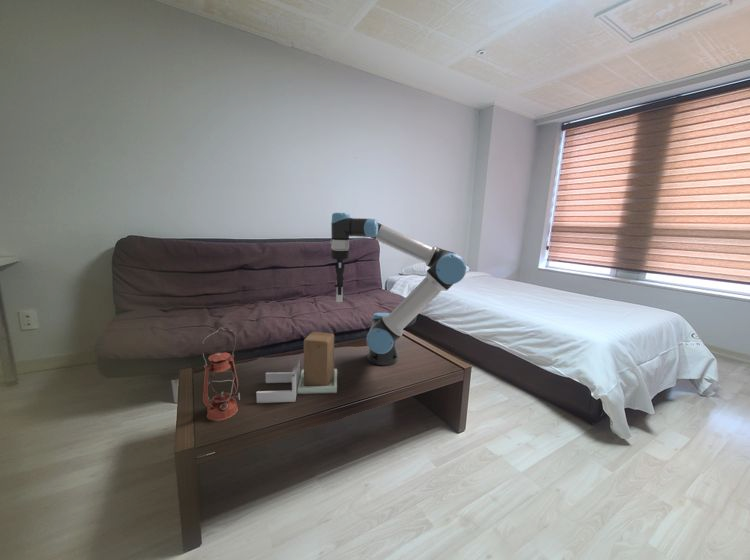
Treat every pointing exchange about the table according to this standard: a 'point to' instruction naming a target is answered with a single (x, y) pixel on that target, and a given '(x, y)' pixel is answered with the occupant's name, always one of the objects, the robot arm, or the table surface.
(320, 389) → the tray
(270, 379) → the dock
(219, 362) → the lantern
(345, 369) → the table surface
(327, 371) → the wooden block
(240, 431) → the table surface
